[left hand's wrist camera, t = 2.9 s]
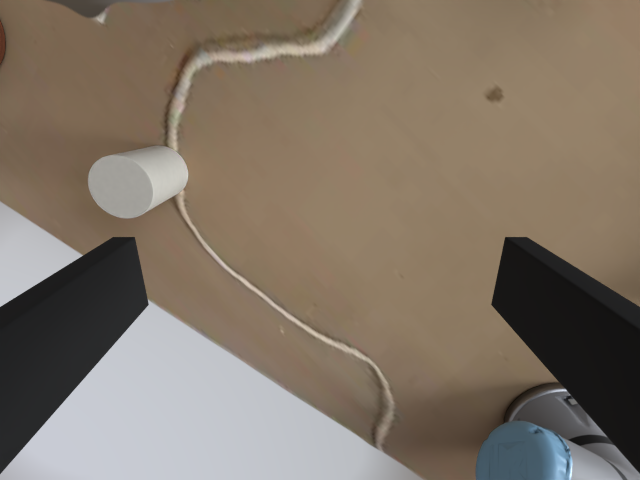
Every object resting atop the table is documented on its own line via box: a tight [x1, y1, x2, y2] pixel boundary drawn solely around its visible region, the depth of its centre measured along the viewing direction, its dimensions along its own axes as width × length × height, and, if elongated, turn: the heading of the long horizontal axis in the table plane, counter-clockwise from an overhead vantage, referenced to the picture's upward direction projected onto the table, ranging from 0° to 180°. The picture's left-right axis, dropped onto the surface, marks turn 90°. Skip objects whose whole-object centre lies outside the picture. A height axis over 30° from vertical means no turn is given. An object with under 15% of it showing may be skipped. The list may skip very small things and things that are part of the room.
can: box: [88, 145, 188, 218], centre depth 41 cm, size 7×7×10 cm
